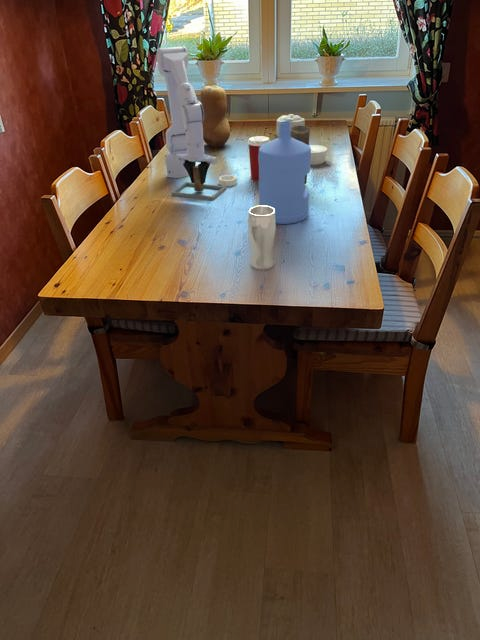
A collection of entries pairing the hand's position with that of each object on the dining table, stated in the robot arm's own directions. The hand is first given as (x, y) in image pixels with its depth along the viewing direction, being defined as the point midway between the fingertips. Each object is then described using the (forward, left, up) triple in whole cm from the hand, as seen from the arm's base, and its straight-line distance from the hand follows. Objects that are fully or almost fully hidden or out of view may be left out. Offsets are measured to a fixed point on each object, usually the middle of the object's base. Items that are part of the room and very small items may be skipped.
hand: (198, 182), depth 172 cm
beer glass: (+39, -42, -4) cm, 57 cm away
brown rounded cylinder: (+30, +18, -4) cm, 36 cm away
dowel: (0, 0, -3) cm, 3 cm away
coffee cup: (+15, +20, -4) cm, 26 cm away
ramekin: (+28, +47, -4) cm, 55 cm away
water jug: (+34, -9, -4) cm, 35 cm away
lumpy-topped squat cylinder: (+7, +85, -4) cm, 85 cm away
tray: (0, 0, -4) cm, 4 cm away
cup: (+6, +11, -4) cm, 14 cm away
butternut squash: (-20, +57, -4) cm, 61 cm away
